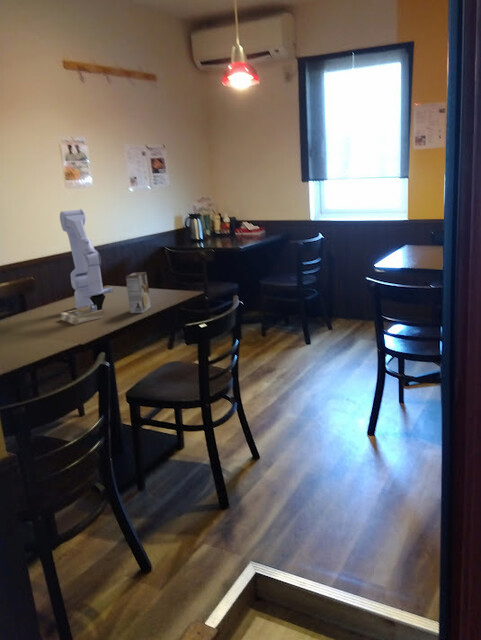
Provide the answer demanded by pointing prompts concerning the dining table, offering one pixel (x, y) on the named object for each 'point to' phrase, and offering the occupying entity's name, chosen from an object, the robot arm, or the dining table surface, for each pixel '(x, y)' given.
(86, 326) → the dining table surface
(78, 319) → the dock bay
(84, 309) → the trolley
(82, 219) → the robot arm
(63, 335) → the dining table surface
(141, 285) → the coffee box
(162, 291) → the dining table surface
